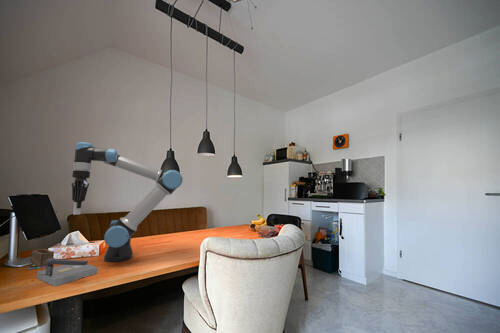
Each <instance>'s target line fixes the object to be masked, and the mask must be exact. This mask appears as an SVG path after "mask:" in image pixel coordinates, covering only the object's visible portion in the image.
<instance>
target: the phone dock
mask: <svg viewBox="0 0 500 333" xmlns="http://www.w3.org/2000/svg"><path fill="white" fill-rule="evenodd" d="M54 254H55V252H54V251H53V250H49V249H45V248H42V249H36V250H34V249H33V250H31V255H30V262H31V263H32V264H34V265H36V266H38V267H44V266H47V265H45V264H46V260H47V259H51V258H54V256H55V255H54ZM32 264H30V266H31V265H32Z"/></svg>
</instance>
